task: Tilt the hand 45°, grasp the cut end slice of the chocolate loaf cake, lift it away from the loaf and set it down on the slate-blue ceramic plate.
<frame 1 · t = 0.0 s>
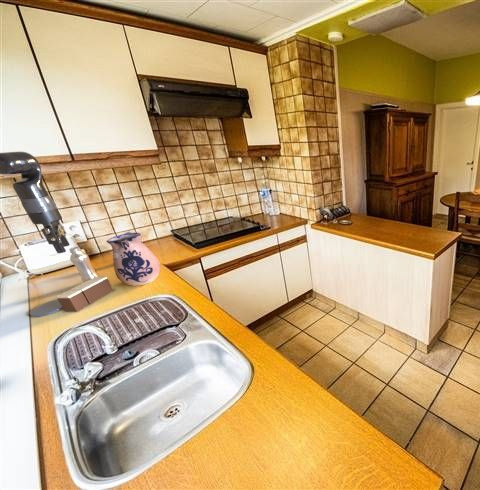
hand: (64, 249, 104), 29 cm above the worktop, tool pointing down, fingers open, 8 cm apart
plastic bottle: (93, 282, 139), on the worktop
plate: (52, 307, 119), on the worktop
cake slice: (77, 308, 118), on the worktop
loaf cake: (96, 297, 125), on the worktop
ceramic pitcher: (144, 280, 139), on the worktop
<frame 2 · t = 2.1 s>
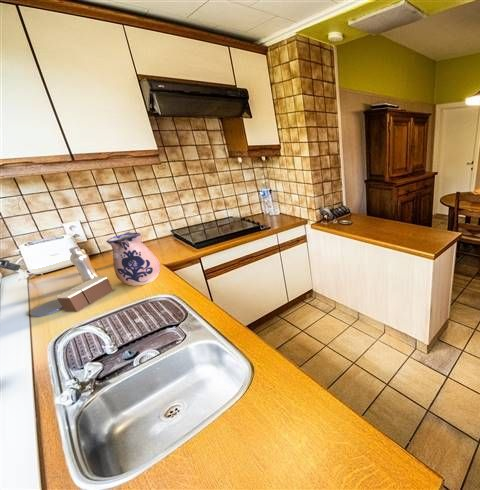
hand: (8, 268, 97), 27 cm above the worktop, tool tilted 45°, fingers open, 8 cm apart
nothing on the worktop moved.
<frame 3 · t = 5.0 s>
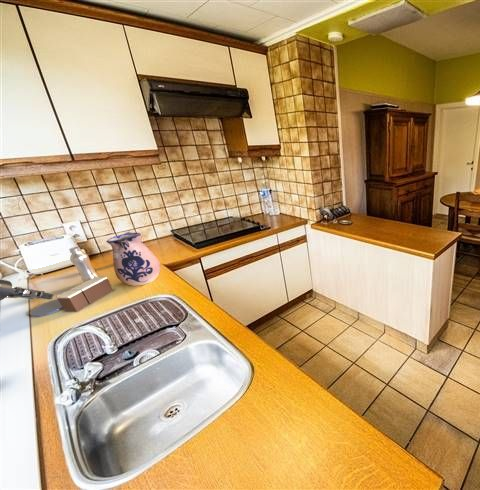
hand: (42, 296, 106), 12 cm above the worktop, tool tilted 45°, fingers open, 8 cm apart
nothing on the worktop moved.
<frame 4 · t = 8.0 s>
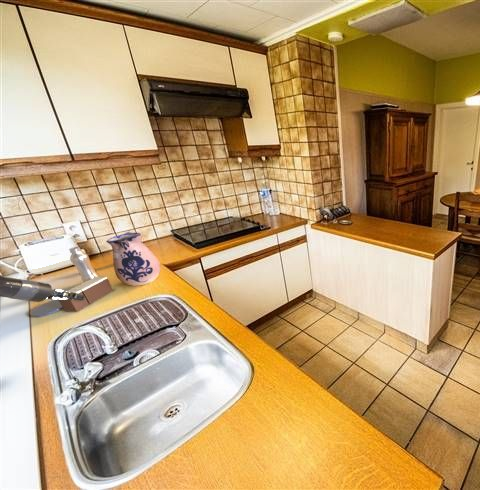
hand: (77, 298, 118), 4 cm above the worktop, tool tilted 45°, fingers closed on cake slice, 6 cm apart
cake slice: (77, 308, 118), on the worktop, touching gripper
everything else where it was.
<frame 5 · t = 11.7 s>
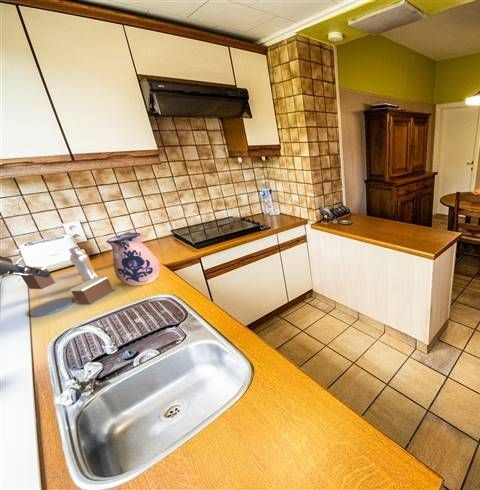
hand: (42, 275, 114), 16 cm above the worktop, tool tilted 45°, fingers closed on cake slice, 6 cm apart
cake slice: (42, 285, 114), point 12 cm above the worktop, touching gripper
everything else where it was.
when the fingers open (5 cm above the worktop, at t = 15.5 s): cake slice stays where it is, resting on plate.
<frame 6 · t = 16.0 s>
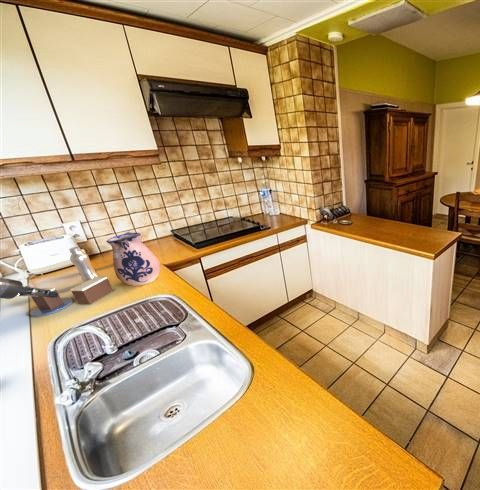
hand: (48, 295, 118), 6 cm above the worktop, tool tilted 45°, fingers open, 8 cm apart
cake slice: (51, 306, 119), point 1 cm above the worktop, touching plate
everything else where it was.
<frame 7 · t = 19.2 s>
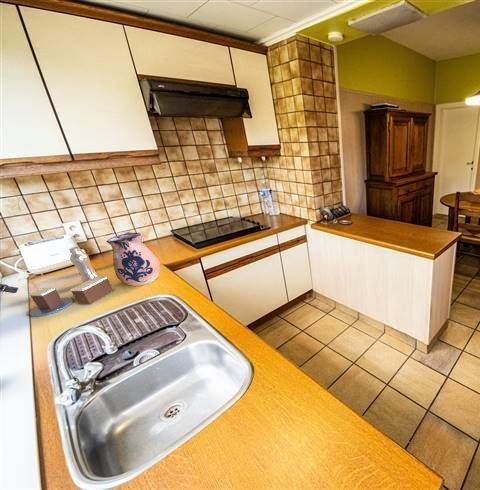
hand: (7, 290, 105), 15 cm above the worktop, tool tilted 45°, fingers open, 8 cm apart
nothing on the worktop moved.
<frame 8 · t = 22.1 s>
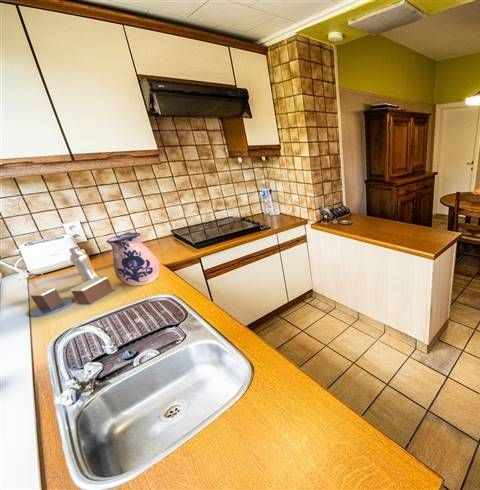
nothing on the worktop moved.
at the end: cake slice inside the target area on the plate (0.1 cm from its centre), point 1.0 cm above the plate's base; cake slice tilted 0°; the gripper is holding nothing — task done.
